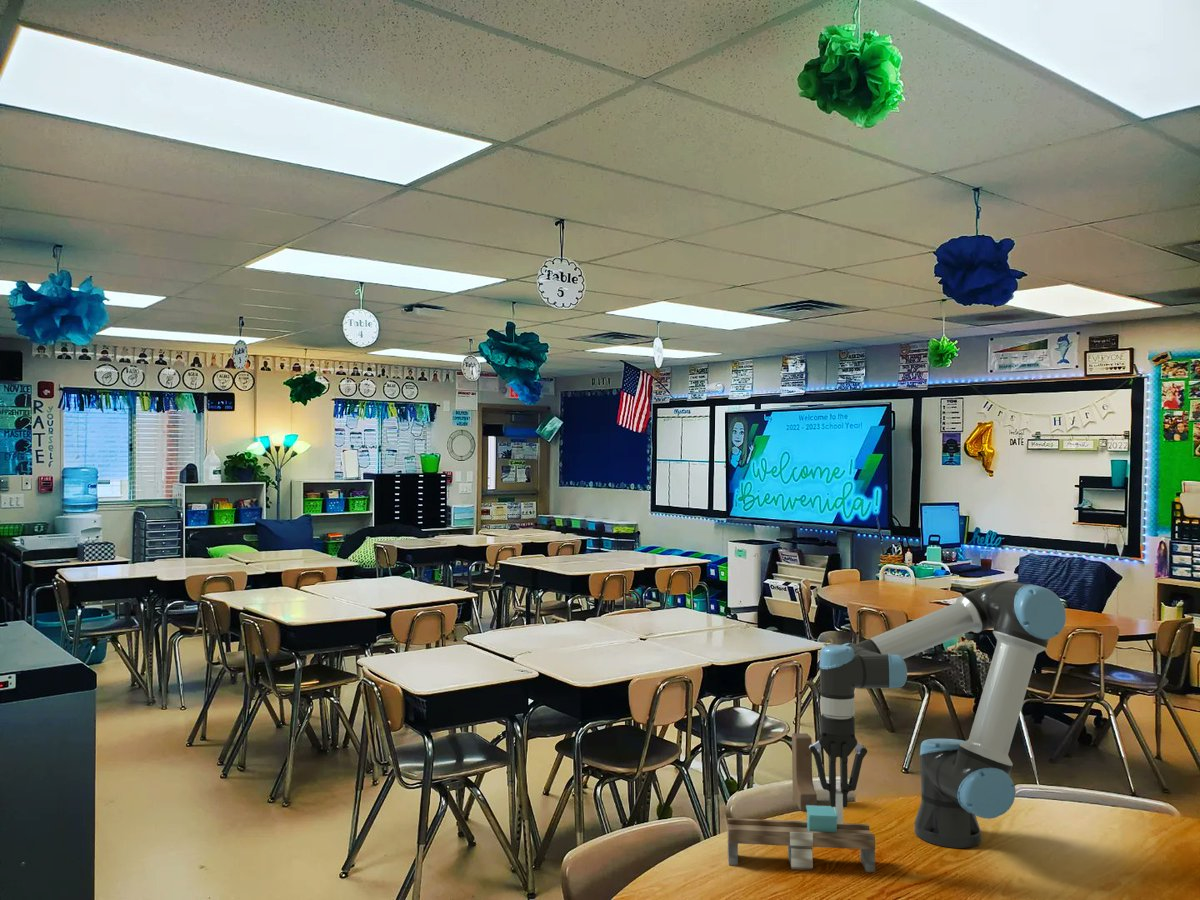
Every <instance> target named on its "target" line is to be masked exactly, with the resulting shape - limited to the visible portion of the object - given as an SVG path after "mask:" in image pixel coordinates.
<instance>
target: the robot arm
mask: <svg viewBox="0 0 1200 900" xmlns="http://www.w3.org/2000/svg"><path fill="white" fill-rule="evenodd" d="M1066 614H1067V613H1066V608H1065V605H1064V604H1063V602H1062V601H1061V598H1060V597H1059V596H1058V595H1057V594H1056V593H1055V592H1054V591H1052V590H1051V589H1049V588H1047V587H1043V586H1040V585H1037V584H1032V583H1030V584H1028V583H1023V582H1022V583H1021V582H1014V581H1009V580H1008V581H1007V580H1006V581H1005V580H1002V581H996V582H993V583H990V584H986V585H984V586H982V587H979V588H976V589H974V590H971V591H970V592H966V593H964V594H962V595H960V596H958V597H957V598H956V602H955V603H951V604H949V605H947V606H945V607H942V608H940V609H937V610H935V611H933V612H930V613H928V614H925V615H923V616H920V617H918V618H916V619H913V620H911V621H909V622H906V623H904V624H902V625H899V626H897V627H894V628H892V629H889V630H887V631H885V632H883V633H881V634H877V635H875V636H873V637H871V638H868V639H865V640H862V641H860V642H858V643H855V642H854V643H853V642H847V643H843V644H829V645H828V644H827V645H825V646H823V647H821V649H820V655H819V680H820V713H821V714H820V734H819V736H818V739H817V740H816V742H814V743H812V744H810V745H809V748H810V750H811V752H812V756H813V758H814V761H815V766H816V770H817V773H818V774H817V775H818V778H819V781H820V785H821V788H822V789H823V790H825V791H828V792H829V795H828V797H829V798H828V799H829V800H828V801H829V806H831V807H833V808H834V810H835V812H836V814H837V816H838V819H837V823H838V824H843V823H844V808H847V807H848V805H849V803H848V794H849V792H854V791H856V789H857V786H858V781H859V777H860V773H861V768H862V764H863V760H864V758H865V756H866V755H867V754H868V749H867V748H866V747H865V746H864V745H861V744H860V743H858V739H857V738H856V731H855V730H856V729H855V728H856V722H855V720H856V719H855V717H854V715H855V714H856V712H855V711H856V709H855V689H888V690H891V689H896V688H897V689H898V688H902V687H903V686H905V684H906V683H907V680H908V679H907V678H908V667H907V664H906V662H905V660H906V659H907V658H909V657H912V656H914V655H917V654H919V653H921V652H925V651H926V650H928V649H931V648H933V647H936V646H938V645H941V644H943V643H945V642H949V641H950V640H952V639H955V638H958V637H960V636H962V635H964V634H967V633H969V632H973V633H976V634H979V633H981V632H983V631H987V630H991V629H992V634H993V635H994V637H995V639H996V645H995V649H994V652H993V656H992V659H991V663H990V666H989V669H988V672H987V676H986V679H985V682H984V685H983V690H982V692H981V696H980V699H979V703H978V706H977V710H976V713H975V716H974V720H973V722H972V725H971V730H970V733H969V737H968V739H966V740H962V739H955V738H929V739H925V740H923V741H921V743H920V750H919V751H920V752H919V757H920V758H919V759H920V763H919V764H920V792H921V800H920V804H919V807H918V811H917V814H916V817H915V819H914V834H915V836H916V837H918V838H919V839H921V840H923V841H925V842H927V843H930V844H932V845H937V846H940V847H945V848H946V847H947V848H953V849H954V848H956V849H966V848H973V847H977V846H979V845H980V844H981V843H982V831H981V830H982V829H981V828H980V825H979V822H978V821H979V820H978V818H981V819H987V820H988V819H989V820H990V819H996V818H998V817H1000V816H1003V815H1005V814H1006V813H1007V812H1008V811H1009V810H1010V809H1011V807H1012V806H1013V804H1014V801H1015V799H1016V794H1017V793H1016V786H1015V784H1014V781H1013V779H1012V778H1011V777H1010V776H1011V772H1012V768H1013V762H1012V760H1011V758H1010V757H1009V752H1010V749H1011V744H1012V741H1013V738H1014V735H1015V731H1016V727H1017V724H1018V721H1019V718H1020V714H1021V710H1022V707H1023V703H1024V699H1025V697H1026V694H1027V690H1028V686H1029V683H1030V679H1031V676H1032V671H1033V668H1034V665H1035V664H1036V663H1035V662H1036V659H1037V655H1038V654H1040V653H1042V652H1044V651H1046V650H1047V647H1048V644H1049V641H1050V639H1052V638H1055V637H1056V636H1057V635H1060V633H1062V631H1063V629H1064V628H1065V625H1066V621H1067V620H1066V619H1067V615H1066ZM904 659H905V660H904ZM821 747H822V749H823V750H824V752H825V753H826V755H827V756H828V757H827V758H828V781H827V777H826V774H825V769H824V766H823V762H822V761H823V760H822V758H821V755H820V753H821V750H822V749H821ZM853 751H854V752H855V756H854V760H853V764H852V766H851V771H850V776H849V777H848V775H849V774H848V772H849V771H848V763H849V762H848V760H849V756H850V755H851V753H852V752H853ZM837 758H839V768H840V769H839V774H840V776H839V778H840V779H839V782H840V783H839V784H840V786H839V787H840V789H837V767H836V766H837V765H836V764H837ZM848 778H849V779H848ZM977 817H978V818H977Z"/></svg>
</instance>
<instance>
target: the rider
mask: <svg viewBox="0 0 1200 900" xmlns="http://www.w3.org/2000/svg"><path fill="white" fill-rule="evenodd" d="M806 809H807V811H806V821H807V829H808V831H816V832H837V819H838V816H837V814H836V812H835V810H834V807H831V805H817V806H815V805H806Z"/></svg>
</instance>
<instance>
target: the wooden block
mask: <svg viewBox="0 0 1200 900" xmlns="http://www.w3.org/2000/svg"><path fill="white" fill-rule="evenodd" d="M812 740H813V738H812V737H811V735H809V734H808V733H807V732H806V733H805V732H804V733H803V732H802V733H795V732H794V733H792V734H791V752H792V753H791V755H792V756H791V760H792V761H791V764H792V765H791V766H792V767H791V768H792V769H791V771H792V774H791V775H792V778H791V779H792V783H791V784H792V800H793V802H794V803H795V805H796V806H797V807H798V809H799V810H800V812H807V809H806V805H815V806H818V805H817V804H818V800H817V799H818V798H817V797H818V795H817V793H816V790H815V787H814V782H813V781H814V780H813V753H812V752H811V750H810V748H809V745H810V744H813V742H812Z"/></svg>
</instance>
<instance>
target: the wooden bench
mask: <svg viewBox="0 0 1200 900" xmlns="http://www.w3.org/2000/svg"><path fill="white" fill-rule="evenodd" d="M726 823H727V859H728V865H729V866H736V867H737V866H739V856H738V855H739V850H738V849H739V844H740V845H741V844H743V845H760V846H761V845H764V846H785V847H787V856H788V857H787V858H788V861H789V864H790V869H791V870H804V871H805V870H806V871H812V869H814V867H813V865H814V863H813V861H814V860H813V859H814V858H813V857H814V855H813V848H827V849H829V848H830V849H831V848H833V849H848V850H849V849H850V850H851V849H853V850H860V851H859V852H860V862H861V864H862V867H863V869H864V871H865V872H867V873H868V872H869V873H876V835H875V833H872V832H871V830H870V824H869V823H853V822H843V824H838V823H837V832H816V831H808V829H807V820H794V819H793V820H789V819H787V820H784V819H783V820H782V819H760V818H759V819H756V818H739V817H737V818H736V817H735V818H734V817H732V818H731V817H727V822H726Z"/></svg>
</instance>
